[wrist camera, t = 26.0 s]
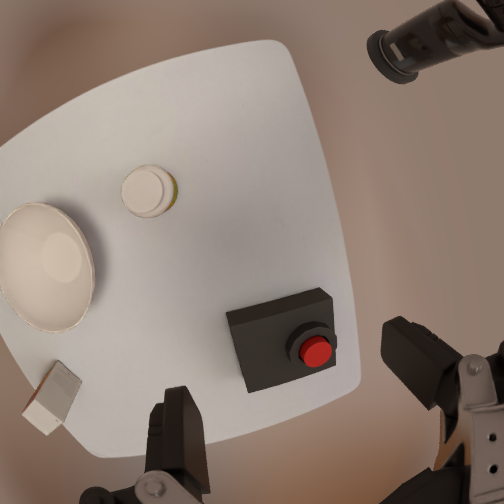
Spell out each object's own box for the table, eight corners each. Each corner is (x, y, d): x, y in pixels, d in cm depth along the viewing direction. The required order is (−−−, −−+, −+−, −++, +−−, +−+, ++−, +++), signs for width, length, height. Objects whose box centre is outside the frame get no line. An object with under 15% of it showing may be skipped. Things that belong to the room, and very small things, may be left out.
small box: (58, 359, 33) (34, 397, 23) (83, 381, 35) (64, 423, 25) (41, 378, 33) (20, 414, 23) (64, 398, 35) (47, 436, 25)
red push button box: (319, 287, 39) (338, 302, 33) (325, 351, 42) (341, 371, 36) (225, 312, 37) (231, 333, 31) (243, 376, 40) (250, 401, 34)
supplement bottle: (184, 204, 33) (178, 209, 23) (144, 219, 32) (124, 230, 23) (170, 163, 31) (160, 152, 22) (131, 179, 31) (106, 175, 21)
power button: (325, 331, 34) (331, 338, 32) (327, 354, 35) (332, 361, 34) (297, 341, 34) (302, 348, 32) (300, 364, 35) (305, 371, 33)
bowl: (54, 175, 28) (27, 174, 21) (133, 253, 33) (119, 267, 26) (8, 261, 28) (-18, 274, 22) (77, 331, 33) (60, 355, 26)
